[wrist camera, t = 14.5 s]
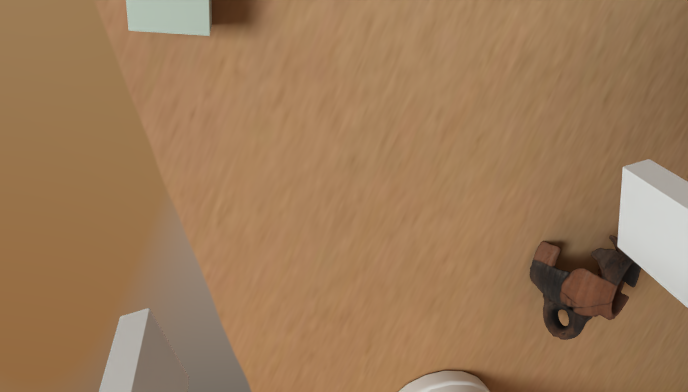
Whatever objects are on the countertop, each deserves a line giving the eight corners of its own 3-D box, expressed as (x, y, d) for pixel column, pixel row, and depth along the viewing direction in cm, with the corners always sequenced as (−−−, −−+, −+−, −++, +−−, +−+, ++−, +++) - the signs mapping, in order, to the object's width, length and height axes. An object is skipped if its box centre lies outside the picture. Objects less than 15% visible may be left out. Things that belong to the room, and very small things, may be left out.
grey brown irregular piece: (546, 213, 52) (630, 245, 46) (579, 219, 59) (656, 248, 53) (504, 319, 54) (580, 362, 48) (541, 313, 61) (611, 350, 55)
